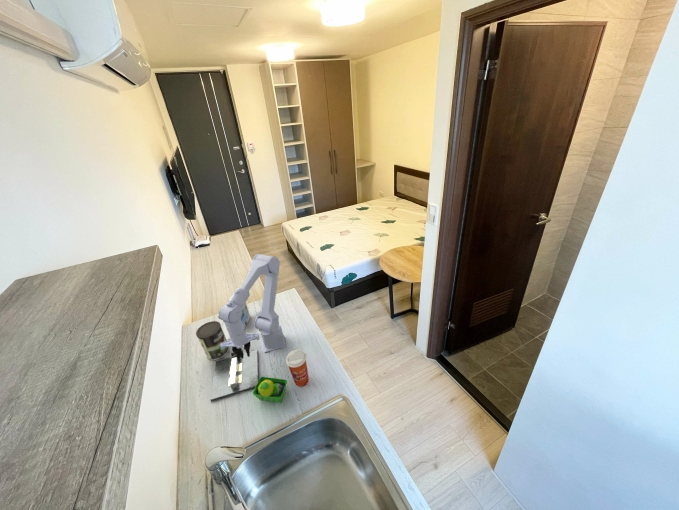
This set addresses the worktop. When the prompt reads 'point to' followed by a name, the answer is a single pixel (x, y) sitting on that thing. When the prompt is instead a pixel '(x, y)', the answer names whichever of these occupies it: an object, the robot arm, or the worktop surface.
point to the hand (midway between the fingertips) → (245, 355)
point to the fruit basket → (270, 389)
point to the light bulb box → (245, 315)
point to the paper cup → (298, 367)
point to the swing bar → (234, 371)
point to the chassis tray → (245, 376)
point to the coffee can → (212, 340)
